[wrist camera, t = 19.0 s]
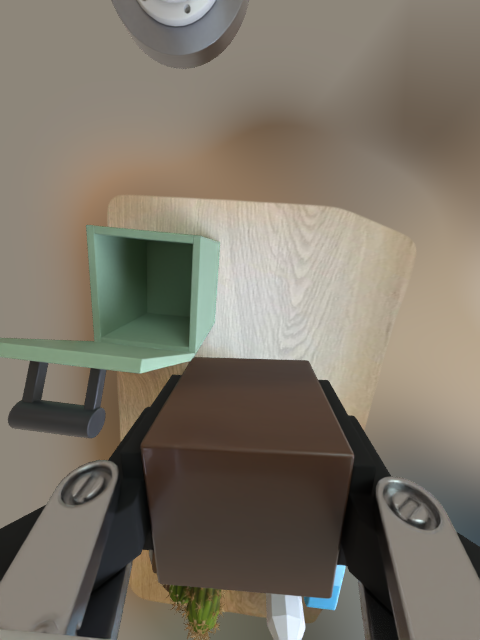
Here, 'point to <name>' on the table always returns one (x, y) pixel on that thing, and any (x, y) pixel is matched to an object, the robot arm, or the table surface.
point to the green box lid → (98, 358)
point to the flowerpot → (195, 604)
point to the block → (247, 479)
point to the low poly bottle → (285, 616)
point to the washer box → (152, 287)
